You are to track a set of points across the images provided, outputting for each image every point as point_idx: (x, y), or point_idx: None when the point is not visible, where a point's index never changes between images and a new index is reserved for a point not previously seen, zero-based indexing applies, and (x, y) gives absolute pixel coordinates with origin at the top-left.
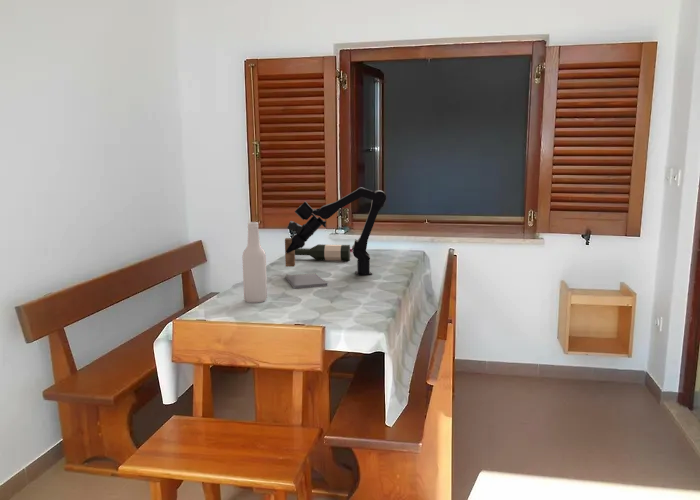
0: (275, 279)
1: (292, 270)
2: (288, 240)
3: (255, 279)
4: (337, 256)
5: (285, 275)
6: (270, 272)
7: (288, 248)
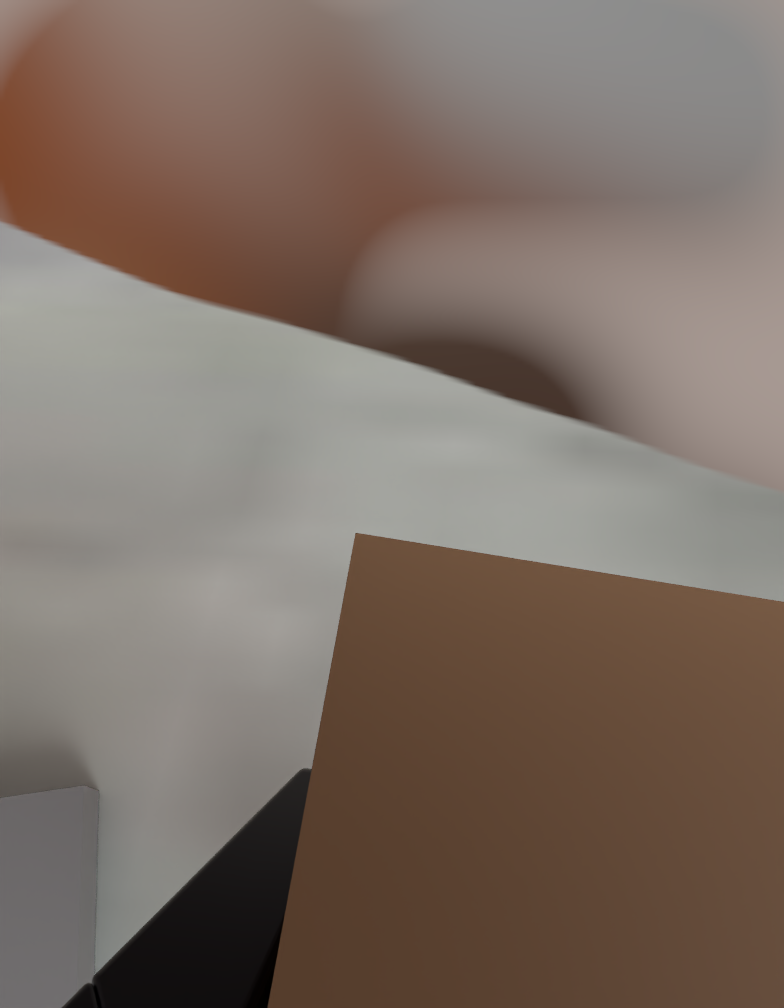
0: (55, 619)
1: None
2: (281, 952)
3: None
4: None
5: (71, 793)
6: (575, 567)
7: (194, 895)
